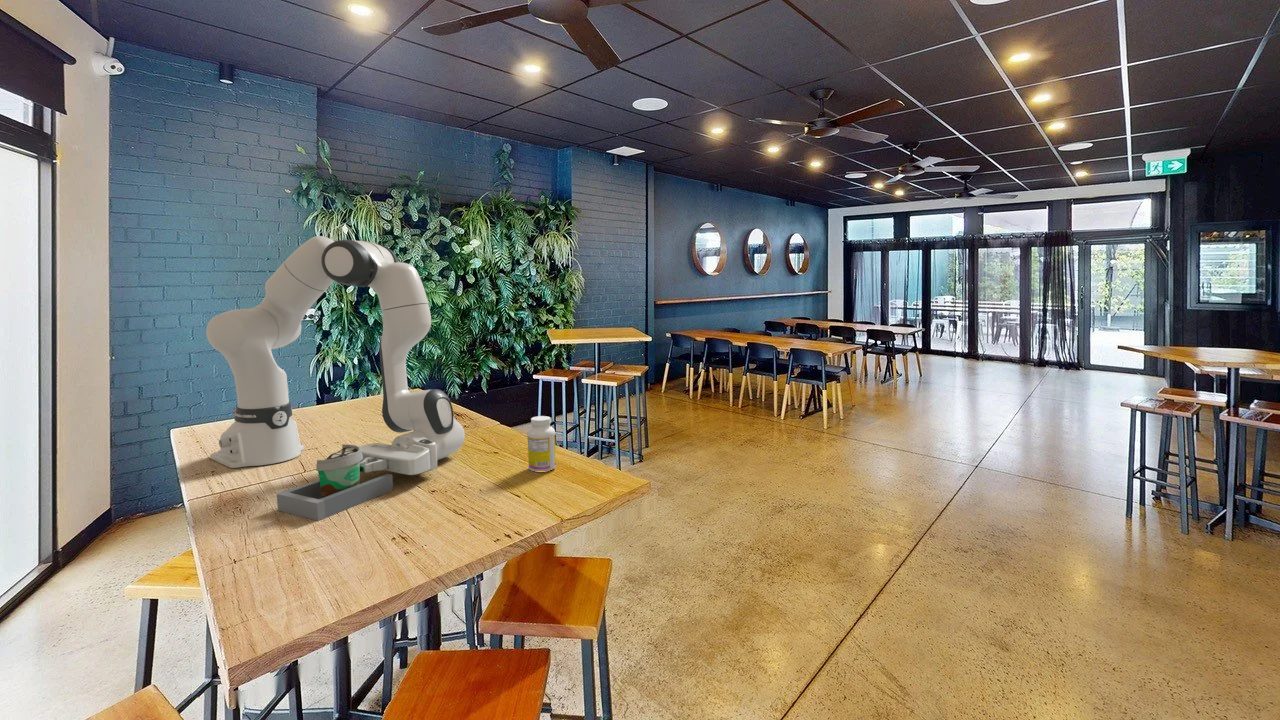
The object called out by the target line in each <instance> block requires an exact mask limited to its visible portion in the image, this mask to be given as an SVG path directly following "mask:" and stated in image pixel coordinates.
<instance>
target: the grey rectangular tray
mask: <svg viewBox="0 0 1280 720" xmlns="http://www.w3.org/2000/svg"><path fill="white" fill-rule="evenodd" d="M393 481H394V479H393V474H391V473H385V474H383V475H381V476H378V477H375V478H372V479H369V480H366V481H365V482H362V483H361V482H360V481H359V485H356V486H353V487H351V488H348V489H345V490H343V491H340V492H337V493H335V494H332V495H329V496H327V497H324V498H322V495H321V488H320V481H319V479H315V480H313V481H310V482H307V483H304V484H301V485H298V486H296V487H293V488H290V489H286V490H283V491H281V492H278V493H276V501H277V503H276V505H277V511H279V512H283V513H287V514H291V515H294V516H298V517H303V518H306V519H310V520H313V521H314V520H315V521H317V522H319V521H322V520H323V519H327V518H328V517H331V516H333V515H336V514H338V513H341V512H342V511H343V512H344V511H345V510H348V509H350V508H353V507H355V506H357V505H360V504H362V503H366V502H367V501H369V500H372V499H375V498H377V497H379V496H382V495H385V494H387V493H389V492H392V491H394V482H393Z"/></svg>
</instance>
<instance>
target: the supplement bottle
mask: <svg viewBox="0 0 1280 720" xmlns="http://www.w3.org/2000/svg"><path fill="white" fill-rule="evenodd" d="M530 423H531V424H530V425H531V428H529V429H528V430H527V452H528V454H527V456H528V458H527V459H528V470H531V471H530V472H532V471H548V470H552V469H554V468H555V467H556V468H557V459H556V458H557V455H556V454H557V451H556V450H557V449H556V430H555V428H553V427H552V426H551V423H552V420H551V417H550V416H546V415H537V416H533V417H531V418H530ZM556 468H555V469H556ZM555 469H554V470H555ZM552 471H553V470H552Z"/></svg>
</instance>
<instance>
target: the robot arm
mask: <svg viewBox="0 0 1280 720" xmlns="http://www.w3.org/2000/svg"><path fill="white" fill-rule="evenodd" d="M334 282H336V283H338V284H340V285H341V284H342V285H345V286H351V287H361V288H366V287H367V288H368V287H369V288H370V289H372V290H373V291H374V292H375V293H376V295H377V297H378V302H379V307H380V311H381V316H382V334H381V335H382V336H381V337H380V339H379V345H378V347H379V360H380V361H379V362H380V364H379V365H380V372H381V381H382V396H383V397H382V398H383V399H382V409H381V414H382V419H383V421H384V423H385V425H386V426H387V427H388V428H389V429H390V430H391V431H393V432H395V433H403V434H400V435H398V436H395V438H394V439H393V440H392V442H391V444H386V443H380V442H375V443H369V444H364V445H359V446H358V447H359V449H360V450H361V452H362V455H363V459H362V460H361V461H360V472H361V473H366V474H368V473H371V472H375V471H376V472H377V471H385V472H392V473H397V474H402V475H407V476H415V475H419V474H422V473H424V472H428V471H434V470H436V469H437V468H438V461H440V460H442V459H444V458H446V457H448V456H450V455H453V454H454V453H456V452H457V451H458V450H459V449H460V448H461V447H462V446H463V444H464V442H465V435H466V433H465V429H464V427H463V425H462V424H461V423H460V422H459V421H458V420H457V419H456V418H455V416H454V408H453V405H452V401H451V400H450V398H449V396H448V394H446V393H445V392H444V391H443V390H441V389H437V388H434V389H433V388H432V389H425V390H424V389H423V390H419V391H414V392H411V391H410V390H409V387H408V386H409V385H408V378H407V377H408V374H407V366H406V360H407V356H408V354H409V352H410V351H411V350H412V348H414V346H416V345H417V344H419V343H420V342H421V341H422V340H423V339H424V338H425V337H426V335H428V333H429V332H430V330H431V327H432V315H431V310H430V305H429V300H428V296H427V294H426V289H425V287H424V285H423V281H422V279H421V277H420V275H419V272H418V271H417V269H416V268H415V267H414V266H413V265H412V264H409V263H407V262H402V261H401V262H400V261H399V259H398V257H397V256H396V253H394V251H392V249H390V248H389V247H387V246H385V245H383V244H381V243H375V242H371V241H367V240H353V239H339V240H336V241H335V240H333V238H329V237H327V236H323V235H317V236H313V237H311V238H309V239H307V240H306V241H305V242H303V243H302V244H301V245H300V246H298V248H296V249H295V250H294V251H293V252H292V253H291V254H290V255H289V256H288V257H287V258H286V259H285V260H284V261H283V262H282V264H280V266H279V267H278V268H277V269H276V270H275V271H274V273H273V274H272V275H271V276H269V278H268V279H267V280H266V282H265V283H264V291H265V296H264V298H263V299H262V301H260V303H259V304H258V305H256V306H254V307H251V308H237V309H231V310H227V311H224V312H221V313H220V314H217V315H214V316H213V317H212V318H211V319H209V321H208V323H207V325H206V329H205V330H206V331H205V334H206V338H207V341H208V343H209V344H210V346H211V347H212V348H213V349H214V350H216V351H217V352H219V353H220V354H221V355H222V356H223V357H224V359H225V361H227V364H228V365H229V367H230V370H231V372H232V375H233V378H234V383H235V390H236V399H237V407H234V408H232V410H234V411H233V414H234V418H233V419H234V422H233V423H232V424H231V425H230V426H229V427H228V428H227V429H226V430H225V431H224V432H222V433H221V434H220V438H219V439H218V445H219V448H220V450H218V451H215V452H213V453H211V454H209V459H211V460H213V461H215V462H217V463H218V464H221V465H223V466H226V467H228V468H229V469H237V468H245V467H255V466H267V465H272V464H277V463H281V462H286V461H289V460H292V459H295V458H297V457H299V456H301V454H302V451H303V450H304V449H305V445H304V444H301V442H300V435H299V431H298V426H297V421H296V420H295V419H294V418H292V416H293V406H292V402H291V401H290V398H289V386H288V385H289V384H288V374H287V373H286V371H285V370H284V369H283V368H281V367H280V366H279V365H278V364H277V362H276V360H275V358H274V355H273V351H272V350H276V349H280V348H284V347H286V346H288V345H290V344H292V343H293V342H295V341H296V340H298V338H299V337H300V336H301V333H302V322H303V319H304V317H305V315H306V314H307V313H308V311H309V310H310V308H312V306H313V305H314V304H315V303H316V301H318V299H320V298H321V297H322V295H323V294H324V292H326V291H327V290H328V288H329V287H330V286H332V284H333V283H334ZM407 432H408V433H407Z"/></svg>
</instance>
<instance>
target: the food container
mask: <svg viewBox="0 0 1280 720" xmlns="http://www.w3.org/2000/svg"><path fill="white" fill-rule="evenodd" d="M341 447H342V448H341V449H340V450H338V451H336V452H334V453H331V454H329V456H328V457H326V458H325V459H316V465H315V466H316V467H315V469H316V472H317V471H318V480H319V481H320V488H321V495H322V497H321V498H324V497H327V496H329V495H332V494H335V493H337V492H340V491H343V490H345V489H348V488H351V487H353V486H356V485H359V484H360V483H359V482H360V461H361V460H362V459H363V455H362V452H361V450H360V449H359V446H357V445H355V444H347V443H346V444H345V443H344V444H342V445H341Z"/></svg>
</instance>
